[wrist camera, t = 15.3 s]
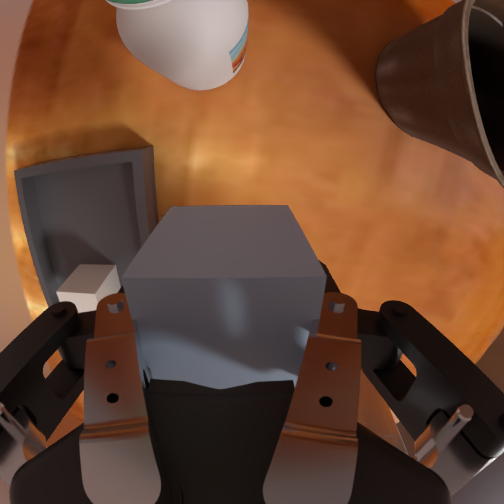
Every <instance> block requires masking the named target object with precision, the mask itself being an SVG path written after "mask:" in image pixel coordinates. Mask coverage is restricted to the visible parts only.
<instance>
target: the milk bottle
mask: <svg viewBox="0 0 504 504" xmlns="http://www.w3.org/2000/svg"><path fill="white" fill-rule="evenodd" d="M106 1H107V2H108V3H109V4H111V5H113V6H115V7H117V10H116V23H117V28H118V32H119V35H120V37H121V40H122V41H123V43H124V45H125V47H126V48H127V49H128V50H129V51H130V53H131V54H132V55H133V56H134V57H135V58H137V59H138V60H139V61H141V62H142V63H143V64H145V65H146V66H147V67H149V68H151V69H152V70H154V71H156V72H157V73H159V74H161V75H162V76H164V77H166V78H167V79H169V80H171V81H173V82H174V83H176V84H178V85H180V86H182V87H185V88H188V89H192V90H209V89H213V88H217V87H219V86H221V85H223V84H225V83H227V82H228V81H229V80H231V79H232V78H233V77H234V76H235V75H236V74H237V73H238V71H239V70H240V68H241V66H242V64H243V61H244V58H245V52H246V43H247V33H248V4H247V0H106Z"/></svg>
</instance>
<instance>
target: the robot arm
mask: <svg viewBox="0 0 504 504" xmlns="http://www.w3.org/2000/svg"><path fill="white" fill-rule="evenodd" d="M319 262H320V264H321V266H322V268H323V270H324V272H325V274H326V276H327V278H326V284H325V291H324V297H323V303H322V308H321V314H320V319H315V320H313V322H312V327H311V331H310V332H309V335H308V340H307V344H306V348H305V352H304V356H303V360H302V364H301V367H300V371H299V375H298V379H297V382H296V386H295V387H294V382H293V380H282V381H260V382H254V383H249V384H245V385H240V386H235V387H230V388H225V389H215V388H211V387H207V386H202V385H198V384H194V383H190V382H186V381H177V380H162V379H154V378H153V375H152V372H151V369H150V368H147V366H146V363H145V360H144V356H143V352H142V347H141V341H140V333H139V329H138V325H137V322H136V320H133V319H131V315H130V311H129V307H128V304H127V300H126V296H125V292H124V287H123V285H122V286H121V288H120V290H119V291H118V293H115V294H111V295H108V296H106V297H104V298H103V299H101V300H100V301H99V302H98V304H97V308H96V310H94V311H88V312H81V313H78V310H77V307H76V305H75V304H74V303H73V302H69V301H62V302H58V303H55V304H53V305H51V306H50V307H49V308H47V309H46V310H45V311H44V312H43V313H42V314H41V315H40V316H38V317H37V318H36V319H35V320H34V321H33V322H32V323H31V324H30V325H29V326H28V327H27V328H25V329H24V330H23V331H22V332H21V333H20V334H19V335H18V336H17V337H16V338H15V339H14V340H13V341H12V342H11V343H10V344H9V345H8V346H7V347H6V348H5V349H4V350H3V351H2V352H1V353H0V478H1V479H2V480H3V481H4V482H5V483H6V484H7V485H8V486H9V487H10V491H9V494H10V504H451V496H452V495H453V494H455V493H456V491H458V490H459V489H460V488H461V487H462V486H464V485H465V484H466V483H467V482H468V481H469V480H470V479H471V478H472V477H473V476H475V475H476V474H477V473H479V472H480V471H481V470H483V469H484V468H485V467H486V466H488V465H489V464H490V463H491V462H492V461H494V460H495V459H496V458H497V457H498V456H499V455H501V454H502V453H503V452H504V393H503V392H502V391H501V390H500V389H499V388H498V387H497V386H496V385H495V384H494V383H493V382H492V381H491V380H490V379H489V378H488V377H487V376H486V375H485V374H484V373H483V372H482V371H481V370H480V369H479V368H478V367H477V366H476V365H475V364H474V363H473V362H472V361H471V360H470V359H469V358H468V357H466V356H465V355H464V354H463V353H462V352H461V351H460V350H459V349H458V348H457V347H456V346H455V345H454V344H453V343H452V342H451V341H449V340H448V339H447V338H446V337H445V336H444V335H443V334H442V333H441V332H440V331H439V330H437V329H436V328H435V327H434V326H433V325H432V324H431V323H430V322H428V321H427V320H426V319H425V318H424V317H423V316H422V315H421V314H419V313H418V312H417V311H416V310H415V309H414V308H413V307H411V306H410V305H408V304H406V303H404V302H401V301H394V300H392V301H386V302H384V303H383V304H382V305H381V307H380V310H379V312H376V311H369V310H362V309H359V308H357V303H356V301H355V300H354V299H353V298H352V297H350V296H348V295H346V294H343V293H341V292H340V290H339V289H338V287H337V285H336V283H335V281H334V279H333V278H332V276H331V274H330V273H329V270H328V269H327V267H326V265H325V264H323V263H322V262H321V261H319ZM57 349H58V351H59V353H60V355H61V357H62V361H61V362H60V363H59V364H58V365H57V366H56V367H55V369H54V370H53V371H52V372H51V373H50V375H49V376H48V377H47V378H46V379H45V377H44V375H43V366H44V364H45V362H46V361H47V360H48V359H49V358H50V357H51V356H52V355H53V353H54V352H55V351H56V350H57ZM403 353H404V355H405V356H406V357H407V358H408V359H409V360H410V361H411V362H412V363H413V364H414V366H415V368H416V372H417V376H416V377H415V376H414V375H413V374H412V373H411V371H410V370H409V369H408V368H407V367H406V366H405V365H404V364H403V362H402V361H401V360H400V358H401V356H402V354H403ZM83 390H84V423H82V424H81V425H80V426H78V427H77V428H75V429H74V430H72V431H71V432H70V433H68V434H67V435H65V436H64V437H63V438H61V439H59V440H58V441H57V442H55V443H54V444H52V445H51V446H49V447H48V448H46V447H47V440H48V439H49V437H50V436H51V434H52V433H53V432H54V430H55V429H56V427H57V426H58V424H59V423H60V422H61V420H62V418H63V417H64V416H65V414H66V413H67V412H68V410H69V409H70V408H71V406H72V405H73V403H74V402H75V401H76V399H77V398H78V397H79V395H80V394H81V392H82V391H83ZM388 406H389V407H390V408H391V410H392V411H393V412H394V414H395V415H396V416H397V418H398V419H399V420H400V422H401V423H402V424H403V426H404V427H405V428H406V430H407V431H408V432H409V434H410V435H411V436H412V438H413V439H414V440H415V445H414V451H415V455H416V456H415V459H413V458H411V457H410V456H408V454H407V451H406V448H405V446H404V443H403V441H402V438H401V436H400V433H399V431H398V428H397V426H396V424H395V421H394V419H393V416H392V414H391V411H390V409H389V407H388Z"/></svg>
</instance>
